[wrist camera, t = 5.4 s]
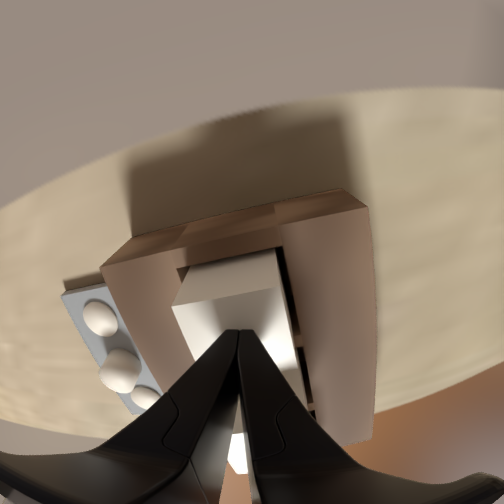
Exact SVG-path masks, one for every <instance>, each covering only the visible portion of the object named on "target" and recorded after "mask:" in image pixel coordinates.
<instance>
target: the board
mask: <svg viewBox="0 0 504 504" xmlns="http://www.w3.org/2000/svg"><path fill="white" fill-rule="evenodd" d="M273 247H276V249H277V253H278V258H279V262H280V267H281V271H282V276H283V280H284V285H285V289H286V294H287V300H288V306H289V312H290V319H291V325H292V332H293V338H294V345H295V348H296V347H297V351H298V356H299V360H300V365H301V370H302V375H303V380H304V386H305V393H306V399H307V406H308V411H310V413H311V416H312V417H313V418H314V419H315V420H316V421H317V423H318V424H319V425H320V426H321V427H322V428H323V429H324V430H325V431H326V432H327V433H328V434H329V435H330V436H331V437H332V438H333V439H334V440H335V441H336V442H337V443H338V444H339V445H340V446H341V447H342V446H347V445H350V444H355V443H359V442H362V441H366V440H370V439H372V430H373V418H374V405H375V387H376V353H377V329H376V294H375V275H374V261H373V249H372V238H371V228H370V219H369V211H368V207H367V206H366V205H365V204H363V203H362V202H360V201H359V200H358V199H356V198H355V197H353V196H352V195H350V194H349V193H348V192H346V191H345V190H343V189H342V188H341V189H336V190H331V191H326V192H321V193H316V194H311V195H307V196H302V197H297V198H292V199H288V200H283V201H278V202H274V203H269V204H265V205H260V206H256V207H252V208H247V209H243V210H239V211H234V212H230V213H226V214H222V215H218V216H213V217H209V218H205V219H201V220H197V221H193V222H189V223H185V224H181V225H177V226H174V227H170V228H166V229H162V230H158V231H154V232H151V233H147V234H143V235H140V236H136V237H132V238H131V239H130V240H129V241H127V242H126V243H125V244H124V245H123V246H122V247H121V248H120V249H119V250H118V251H117V252H115V253H114V254H113V255H112V256H111V257H110V258H109V259H108V260H107V261H106V262H105V263H104V264H103V265H102V266H101V267H99V268H100V270H101V273H102V275H103V278H104V280H105V282H106V284H107V287H108V289H109V291H110V293H111V296H112V298H113V300H114V302H115V304H116V307H117V309H118V311H119V313H120V315H121V317H122V319H123V321H124V323H125V325H126V327H127V329H128V331H129V333H130V335H131V337H132V339H133V341H134V343H135V345H136V346H137V348H138V350H139V352H140V354H141V356H142V358H143V359H144V361H145V363H146V365H147V366H148V368H149V370H150V372H151V373H152V375H153V377H154V379H155V380H156V382H157V384H158V385H159V387H160V389H161V390H162V392H163V394H164V393H165V392H167V390H168V389H169V388H170V387H171V386H172V385H173V384H174V383H175V382H176V381H177V380H178V379H179V378H180V377H181V376H182V375H183V374H184V373H185V372H186V371H187V370H188V369H189V368H190V366H191V365H192V364H193V363H194V362H195V360H194V358H193V356H192V353H191V351H190V349H189V347H188V345H187V342H186V340H185V338H184V336H183V333H182V331H181V329H180V326H179V324H178V322H177V319H176V317H175V315H174V312H173V310H172V307H171V306H172V304H173V302H174V300H175V297H176V295H177V293H178V291H179V289H180V287H181V285H182V283H183V281H184V279H185V276H186V274H187V272H188V270H189V268H190V266H191V265H194V264H199V263H204V262H208V261H213V260H218V259H222V258H227V257H231V256H236V255H241V254H245V253H250V252H254V251H259V250H264V249H268V248H273ZM227 462H228V460H227Z"/></svg>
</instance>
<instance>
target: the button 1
mask: <svg viewBox="0 0 504 504" xmlns="http://www.w3.org/2000/svg"><path fill="white" fill-rule="evenodd" d="M171 307H172V310H173V312H174V315H175V317H176V319H177V322H178V324H179V326H180V329H181V331H182V333H183V336H184V338H185V340H186V342H187V345H188V347H189V349H190V351H191V353H192V356H193V358H194V360H195V361H196V360H197V359H198V358H199V357H200V356H201V355H202V354H203V353H204V352H205V351H206V350H207V349H208V348H209V347H210V346H211V344H212V343H213V342H214V341H215V340H216V339H217V338H218V337H219V336H220V335H221V334H222V333H223V332H224V331H225V330H226V329H238V330H239V331H240V330H241V329H253V330H254V331H255V333H256V334H257V336H258V337H259V339H260V341H261V342H262V344H263V345H264V347H265V348H266V350H267V351H268V353H269V354H270V356H271V357H272V359H273V361H274V362H275V364H276V365H277V367H278V368H279V370H280V371H281V372H283V371H289V370H294V369H298V365H297V358H296V352H295V345H294V338H293V332H292V325H291V319H290V312H289V306H288V300H287V294H286V289H285V285H284V280H283V276H282V271H281V267H280V262H279V258H278V253H277V249H276V247H273V248H268V249H264V250H259V251H254V252H250V253H245V254H241V255H236V256H231V257H227V258H222V259H218V260H213V261H208V262H204V263H199V264H194V265H191V266H190V268H189V270H188V272H187V274H186V276H185V279H184V281H183V283H182V285H181V287H180V289H179V291H178V293H177V295H176V297H175V300H174V302H173V304H172V306H171Z"/></svg>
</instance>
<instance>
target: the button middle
mask: <svg viewBox="0 0 504 504" xmlns="http://www.w3.org/2000/svg"><path fill="white" fill-rule="evenodd" d="M295 352H296V358H297V365H298V369H294V370H289V371H283V372H281V373H282V374H283V376H284V377H285V379H286V380H287V382H288V383H289V385H290V386H291V388H292V389H293V391H294V392H295V394H296V396H298V398H299V399H300V401H301V402H302V404H303V405H304V406H305V408H306V409H307V410H308V406H307V399H306V393H305V386H304V380H303V375H302V370H301V365H300V360H299V356H298V351H297V347H296V348H295ZM227 460H228V462H229V463H230V465H231V466H232V467H233V469H234V470H235V472H236V473H237V474H246V473H248V468H247V460H246V452H245V444H244V435H243V427H242V418H241V409H240V397H239V400H238V406H237V411H236V417H235V422H234V427H233V433H232V438H231V443H230V448H229V453H228V459H227Z"/></svg>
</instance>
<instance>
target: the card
mask: <svg viewBox="0 0 504 504" xmlns="http://www.w3.org/2000/svg"><path fill="white" fill-rule="evenodd" d="M60 297H61V299H62V301H63V303H64V305H65V307H66V309H67V311H68V313H69V315H70V317H71V318H72V320H73V322H74V324H75V326H76V328H77V330H78V331H79V333H80V335H81V337H82V339H83V340H84V342H85V344H86V346H87V347H88V349H89V351H90V352H91V354H92V356H93V357H94V359H95V361H96V362H97V364H98V365H99V367H100V370H99V377H100V379H101V381H102V382H103V383H104V384H105V385H106V386H107V387H108V388H110V389H111V390H113V391H116V393H117V394H118V396H119V397H120V398H121V400H122V401H123V403H124V404H125V405H126V407H127V408H128V410H129V411H130V412H131V414H135V415H141V414H143V413H144V412H145V411H146V410H147V409H149V408H150V407H151V406H152V405H153V404H154V403H155V402H156V401H157V400H158V399H159V398H160V397H161V396H162V395H163V392H162V390H161V389H160V387H159V385H158V384H157V382H156V380H155V379H154V377H153V375H152V373H151V372H150V370H149V368H148V366H147V365H146V363H145V361H144V359H143V358H142V356H141V354H140V352H139V350H138V348H137V346H136V345H135V343H134V341H133V339H132V337H131V335H130V333H129V331H128V329H127V327H126V325H125V323H124V321H123V319H122V317H121V315H120V313H119V311H118V309H117V307H116V304H115V302H114V300H113V298H112V296H111V293H110V291H109V289H108V287H107V284H106V282H105V283H101V284H96V285H92V286H87V287H83V288H78V289H73V290H69V291H65V292H64V293H63V294H62V295H61V296H60Z"/></svg>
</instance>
